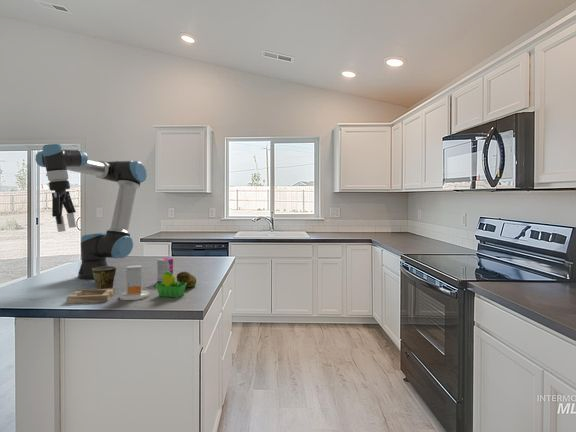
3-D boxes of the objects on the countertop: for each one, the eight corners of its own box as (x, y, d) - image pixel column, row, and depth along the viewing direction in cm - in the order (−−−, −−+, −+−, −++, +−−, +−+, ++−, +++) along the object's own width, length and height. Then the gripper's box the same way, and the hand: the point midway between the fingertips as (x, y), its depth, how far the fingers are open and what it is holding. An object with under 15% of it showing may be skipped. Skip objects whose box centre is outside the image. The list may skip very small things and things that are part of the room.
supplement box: (167, 283, 183) (167, 260, 182) (156, 282, 184) (156, 259, 183) (173, 280, 188) (173, 258, 188) (163, 279, 190) (162, 257, 189)
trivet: (123, 293, 163) (123, 291, 163) (151, 292, 165) (151, 289, 165) (116, 301, 151) (115, 298, 151) (146, 299, 153) (146, 297, 153)
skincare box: (126, 295, 155) (125, 267, 154) (127, 293, 159) (126, 265, 158) (141, 294, 157) (141, 266, 156) (142, 292, 161) (141, 265, 160)
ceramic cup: (94, 287, 173) (93, 266, 172) (117, 286, 177) (116, 265, 176) (90, 294, 161) (89, 272, 160) (115, 292, 164) (115, 270, 164)
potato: (203, 285, 178) (203, 269, 178) (183, 291, 167) (183, 274, 167) (190, 283, 182) (190, 267, 182) (170, 289, 171) (170, 272, 171)
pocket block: (77, 295, 159) (77, 289, 159) (114, 294, 162) (114, 288, 162) (66, 303, 147) (66, 297, 147) (106, 301, 150) (106, 295, 150)
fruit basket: (187, 294, 163) (187, 268, 162) (177, 299, 154) (177, 272, 154) (164, 292, 165) (164, 267, 165) (153, 297, 157) (152, 271, 156)
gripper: (59, 181, 169) (67, 227, 172) (36, 181, 145) (46, 234, 147) (77, 179, 171) (85, 224, 173) (57, 179, 147) (67, 232, 149)
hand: (67, 229), depth 160 cm, fingers open, 13 cm apart
